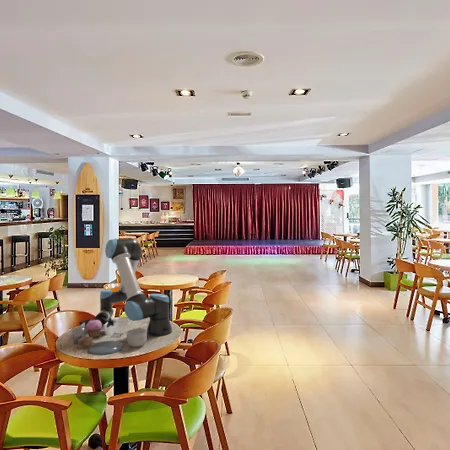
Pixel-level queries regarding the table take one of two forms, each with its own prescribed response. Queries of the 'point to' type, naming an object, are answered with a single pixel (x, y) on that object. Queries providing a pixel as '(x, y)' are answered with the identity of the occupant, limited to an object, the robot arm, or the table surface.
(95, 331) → the cupcake
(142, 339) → the teacup
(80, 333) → the metal tin
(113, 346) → the plate
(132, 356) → the table surface
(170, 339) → the table surface
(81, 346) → the walnut block
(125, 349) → the table surface
